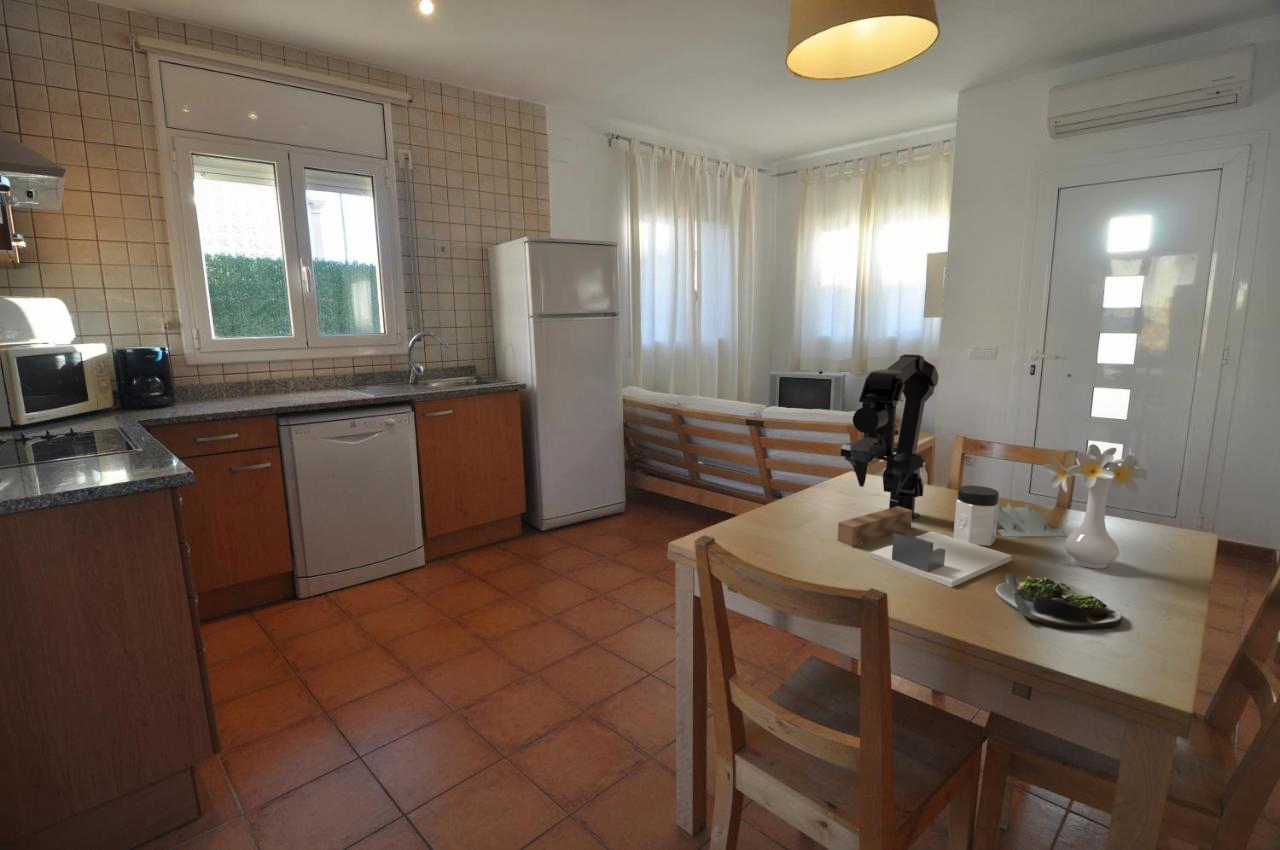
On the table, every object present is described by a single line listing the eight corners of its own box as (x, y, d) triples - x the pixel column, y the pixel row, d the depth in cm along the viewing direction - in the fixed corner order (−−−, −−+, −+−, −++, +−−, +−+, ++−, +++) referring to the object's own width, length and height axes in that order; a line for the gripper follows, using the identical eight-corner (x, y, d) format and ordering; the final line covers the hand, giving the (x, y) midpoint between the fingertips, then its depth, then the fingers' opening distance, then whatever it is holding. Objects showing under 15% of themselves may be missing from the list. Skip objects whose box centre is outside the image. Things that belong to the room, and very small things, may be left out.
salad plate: (966, 584, 119) (968, 561, 118) (1054, 580, 120) (1056, 558, 119) (1035, 634, 100) (1038, 608, 99) (1138, 630, 101) (1142, 604, 100)
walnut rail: (896, 525, 152) (897, 506, 151) (911, 529, 149) (912, 510, 148) (837, 542, 141) (838, 522, 140) (851, 548, 137) (852, 527, 137)
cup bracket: (908, 553, 130) (910, 527, 129) (944, 565, 124) (946, 538, 123) (891, 559, 127) (893, 532, 126) (927, 572, 120) (929, 544, 119)
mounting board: (931, 536, 144) (931, 531, 143) (1011, 560, 129) (1011, 555, 129) (870, 557, 131) (870, 552, 131) (951, 587, 116) (951, 581, 116)
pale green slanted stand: (978, 499, 153) (1038, 499, 153) (973, 518, 156) (1032, 518, 156) (1008, 534, 140) (1073, 533, 140) (1001, 554, 143) (1066, 553, 143)
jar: (945, 535, 144) (949, 486, 142) (972, 531, 147) (976, 483, 144) (975, 548, 136) (980, 497, 134) (1004, 544, 138) (1009, 493, 136)
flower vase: (1024, 555, 131) (1036, 443, 127) (1097, 549, 134) (1111, 439, 130) (1076, 581, 119) (1091, 456, 114) (1156, 573, 122) (1173, 452, 117)
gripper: (826, 424, 144) (823, 487, 147) (896, 437, 128) (892, 507, 131) (856, 419, 150) (853, 480, 153) (927, 430, 134) (922, 498, 137)
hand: (878, 490), depth 143 cm, fingers open, 9 cm apart
